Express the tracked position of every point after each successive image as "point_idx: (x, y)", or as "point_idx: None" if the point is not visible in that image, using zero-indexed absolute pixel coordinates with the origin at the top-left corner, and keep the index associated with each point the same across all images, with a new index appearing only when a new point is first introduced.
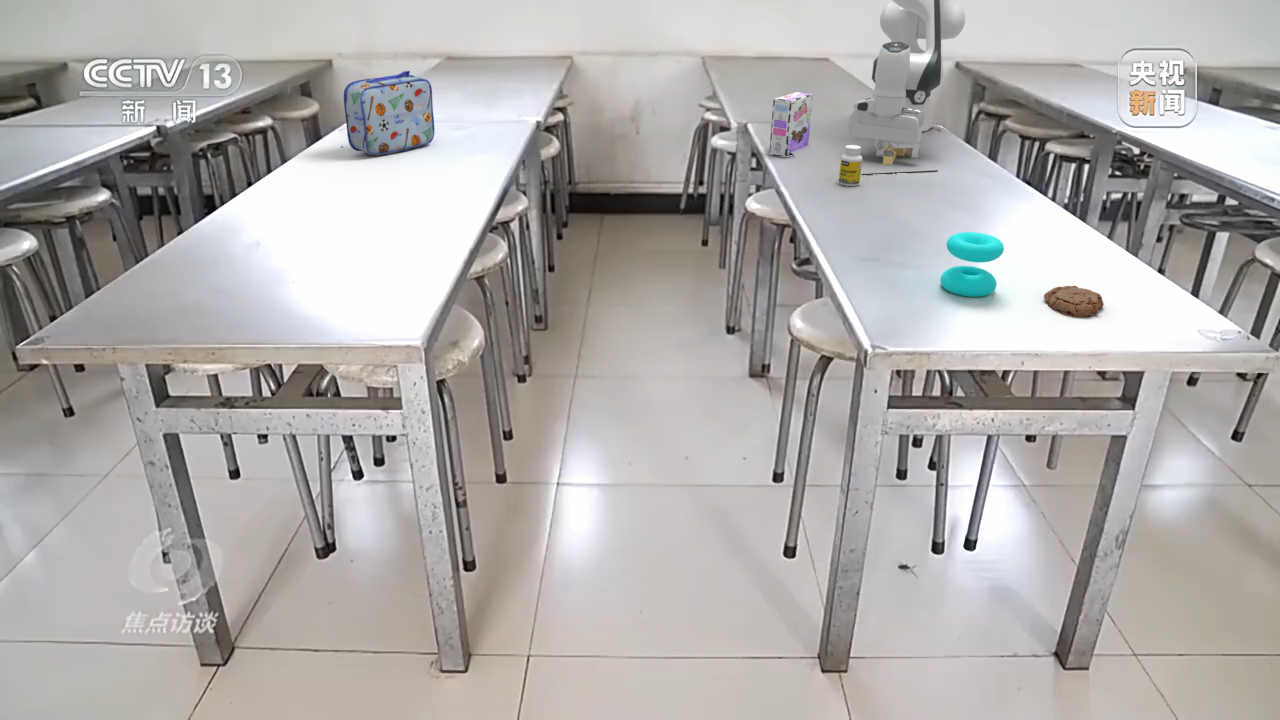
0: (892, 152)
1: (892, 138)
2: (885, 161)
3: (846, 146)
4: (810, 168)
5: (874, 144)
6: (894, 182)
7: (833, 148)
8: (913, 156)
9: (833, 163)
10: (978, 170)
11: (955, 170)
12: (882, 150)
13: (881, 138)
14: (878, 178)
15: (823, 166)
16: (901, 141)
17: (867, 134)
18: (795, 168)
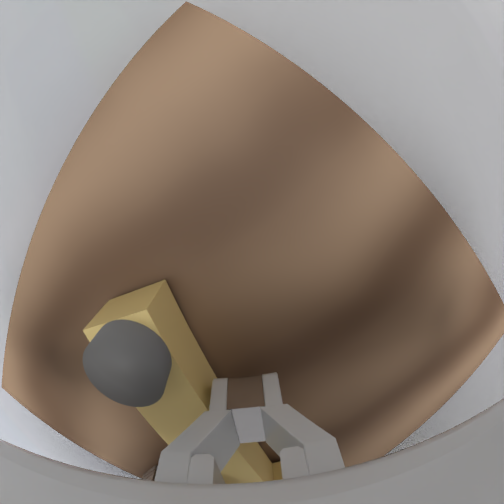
0: (93, 375)
1: (82, 497)
2: (140, 294)
3: None
4: (477, 29)
5: (323, 430)
6: (9, 65)
7: (490, 397)
8: (150, 475)
9: (473, 184)
10: (4, 435)
11: (15, 418)
12: (226, 410)
13: (235, 499)
14: (86, 46)
15: (473, 89)
16: (16, 457)
17: (453, 465)
18: (497, 14)
